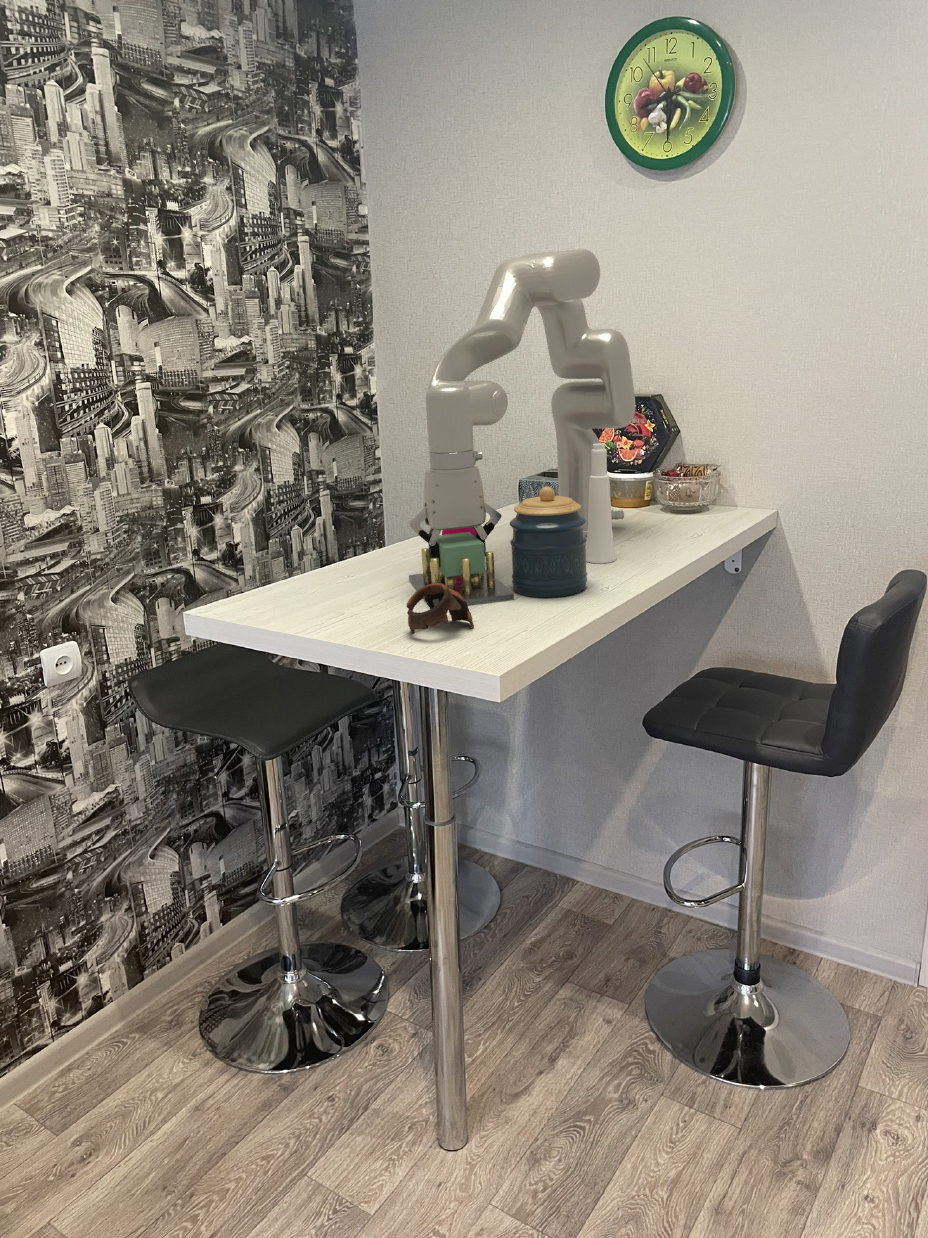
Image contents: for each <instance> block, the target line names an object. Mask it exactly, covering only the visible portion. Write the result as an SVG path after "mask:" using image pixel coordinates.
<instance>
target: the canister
mask: <svg viewBox="0 0 928 1238" xmlns="http://www.w3.org/2000/svg"><path fill="white" fill-rule="evenodd" d="M538 494H539V495H538V496H534V497H530V498H526V499H523V500H522V501H521V502H520V503H519V504H518V505H516V506H514V508H513V510H514V512H515V513H516V515H515V517H514V518H512V519H511V520H510V521H509V526H510V527H511V528H512V539H511V540H510V545H511V561H512V562H511V565H512V569H511V570H512V574H511V583H512V585H513V590H514V591H515V592H516V593H518V594H520V595H524V596H528V597H534V598H556V597H557V598H559V597H565V596H571V595H575V594H578V593H580V592H583V590H585V589H586V587H587V582H588V572H587V562H586V544H587V536H584V531H583V526H584V524H585V523H586V518H585V517H583V516H582V515H580V513H579V511H578V510H580V509H581V505H580V504H578V503H576V502H575V501H573V500H572V499H571V498H569V497H562V496H558V495H556V492H555V489H554V488H553V487H552V486H543V487H542V488H540V490H539V493H538Z"/></svg>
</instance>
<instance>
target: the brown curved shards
mask: <svg viewBox="0 0 928 1238" xmlns="http://www.w3.org/2000/svg"><path fill="white" fill-rule="evenodd" d="M423 598H424V599H423ZM422 600H424V603H426V605H427V606H428V607H429V609H427V610H426V611H422V612H417V611H414V608H415V606H416V605H418V603H419V602H420V601H422ZM406 608H407V609H408V611H407V612H406V613H407V615H408V617H407V620H408V621H407V625H408V628H409V631H410V633H411V634H415V631H416V630H418V631H419V630H427V629H429V628H431V627H432V628H433V627H435V626H436V625H438V624H441V623H446V624H450V621H449V618H448V613H449V615H450V618H451V622H453V623H454V622H458V621H459V622H460V621H465V622H468V623H469V626H470V629H474V628H475V624H474V621H473V616H472V612H471V611H470V608H469V605H467V603H466V601H464V598H463V597H462V596H461V595H460V594H459V593H458V592H456V591H454V590H452V589H448V587H447V586H446V585H445V584H442V583H432V584H429V585H427V586H424V587H422V588H421V589H419V590H418V591H417V590H416V591H415V592H414V593H413V594H412V595H411V597H410V598H409V599H408V601H407V603H406Z"/></svg>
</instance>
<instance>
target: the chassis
mask: <svg viewBox="0 0 928 1238" xmlns="http://www.w3.org/2000/svg"><path fill="white" fill-rule="evenodd" d="M485 554H486V557H485V572H484V573H476V574H471V568H470V558H462V574H463V575H459V576H451V577H445V576H444V575H443V574H442V573H441V572H440V571H439V558H437V557H434V558H431V559H430V557H429V547H428V548H426V547H425V548H421V561H422V562H421V565H422V573H417V574H409V575H408V581H409V580H410V581H411V582H410V581H409V582H410V583H411V585H412V584H413V585H414V586H413V585H412V586H413V588H414V589H416V592H417V591H418V590H419V589H421V588H422V587H424V586H427V585H429V584H432V583H442V584H445V585H446V586H447V587H448V589H452V590H454V591H456V592H458V593H459V594H460V595H461V596H462V597H463V598H464V601H466V603H467V605H468V606H472V605H473V606H474V605H482V604H489V603H496V602H497V603H498V602H506V601H513V600H515V593H514V592H513V591H511V590H510V589H509V588H508V587H506V586H505V585H504V584H503V583H502V582H501V581H500V580H499V579H497V578H496V576H495V573H496V571H495V557H494V555H495V553H494V551H486V552H485ZM430 560H431V562H430ZM422 600H424V598H423V599H422Z"/></svg>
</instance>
